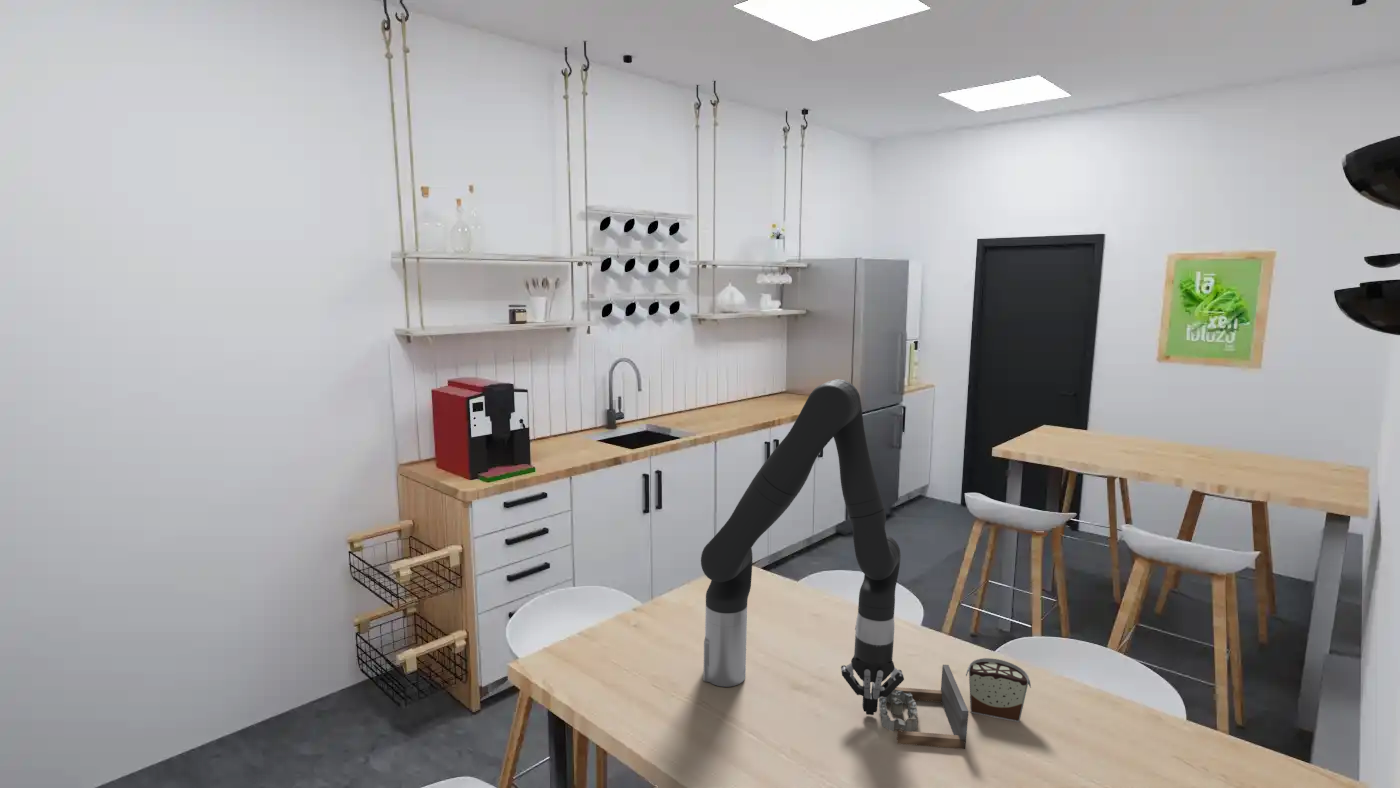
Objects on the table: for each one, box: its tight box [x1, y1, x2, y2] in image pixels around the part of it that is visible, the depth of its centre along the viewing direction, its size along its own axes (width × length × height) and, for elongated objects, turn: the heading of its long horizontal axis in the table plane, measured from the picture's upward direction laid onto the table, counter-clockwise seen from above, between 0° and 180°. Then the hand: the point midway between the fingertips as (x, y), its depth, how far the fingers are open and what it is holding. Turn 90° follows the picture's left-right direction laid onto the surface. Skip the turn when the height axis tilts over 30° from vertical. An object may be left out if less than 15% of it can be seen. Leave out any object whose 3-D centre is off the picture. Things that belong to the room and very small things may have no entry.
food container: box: [965, 657, 1032, 723], centre depth 148 cm, size 12×6×10 cm, turn 71°
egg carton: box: [878, 690, 918, 732], centre depth 146 cm, size 11×8×4 cm
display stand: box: [894, 664, 970, 750], centre depth 144 cm, size 13×16×8 cm
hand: (869, 712), depth 146 cm, fingers closed
